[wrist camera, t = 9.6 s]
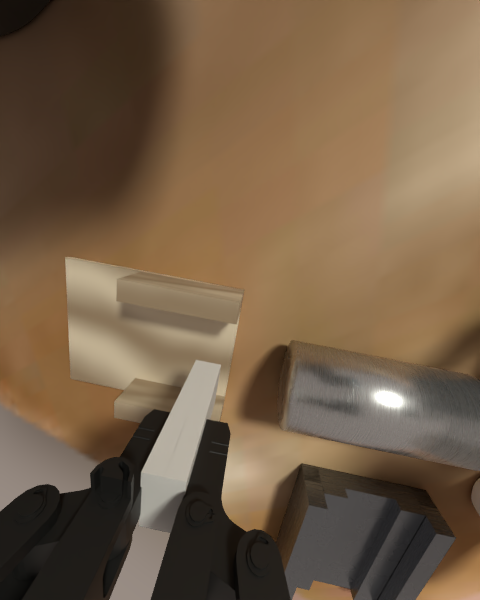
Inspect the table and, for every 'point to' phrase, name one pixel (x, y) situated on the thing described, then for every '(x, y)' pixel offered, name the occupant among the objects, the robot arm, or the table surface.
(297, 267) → the table surface
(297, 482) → the v block
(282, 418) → the grey metal cylinder
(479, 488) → the cup
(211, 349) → the bracket
